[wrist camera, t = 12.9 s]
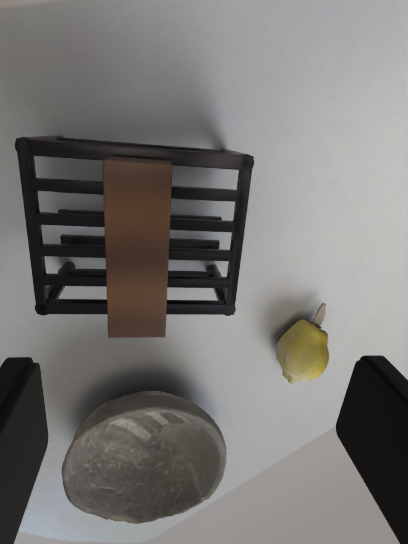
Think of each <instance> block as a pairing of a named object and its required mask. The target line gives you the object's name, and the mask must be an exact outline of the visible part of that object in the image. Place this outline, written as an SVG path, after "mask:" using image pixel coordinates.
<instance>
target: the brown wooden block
mask: <svg viewBox="0 0 408 544" xmlns="http://www.w3.org/2000/svg"><path fill="white" fill-rule="evenodd" d="M171 186H172V163H171V161H170V160H157V159H143V158H129V157H115V156H109V157H107V158H105V159H103V187H104V218H105V249H106V280H107V311H108V337H109V338H112V337H165V331H166V307H167V283H168V258H169V234H170V210H171Z"/></svg>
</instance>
